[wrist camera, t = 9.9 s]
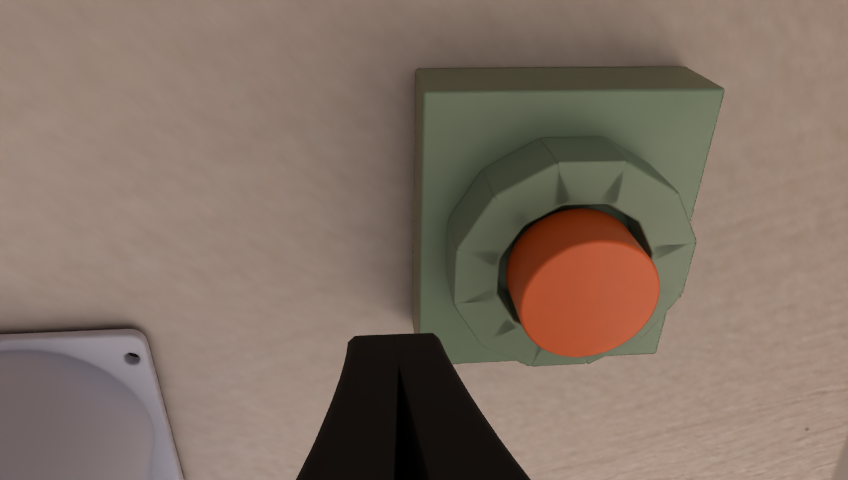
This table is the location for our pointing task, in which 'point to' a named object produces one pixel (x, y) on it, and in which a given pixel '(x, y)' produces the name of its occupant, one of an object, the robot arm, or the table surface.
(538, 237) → the button
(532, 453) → the table surface
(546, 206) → the block
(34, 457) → the robot arm
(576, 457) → the table surface
